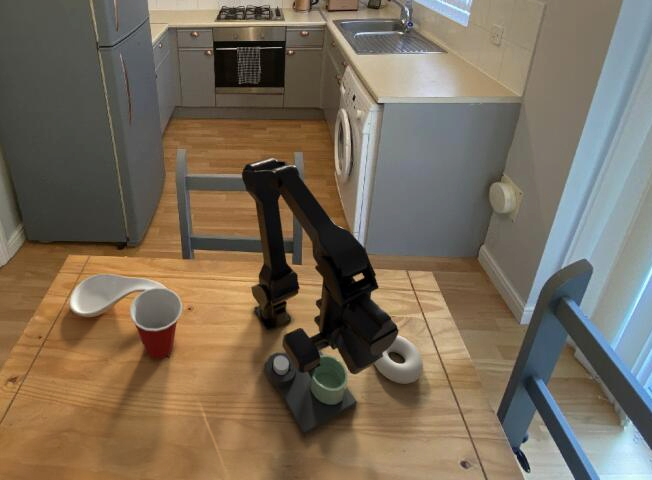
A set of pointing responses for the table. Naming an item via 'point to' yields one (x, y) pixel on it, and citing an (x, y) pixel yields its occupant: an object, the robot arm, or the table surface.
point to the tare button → (281, 365)
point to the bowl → (329, 380)
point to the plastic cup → (156, 319)
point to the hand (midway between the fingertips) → (330, 364)
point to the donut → (401, 371)
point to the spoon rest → (105, 293)
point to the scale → (305, 397)
